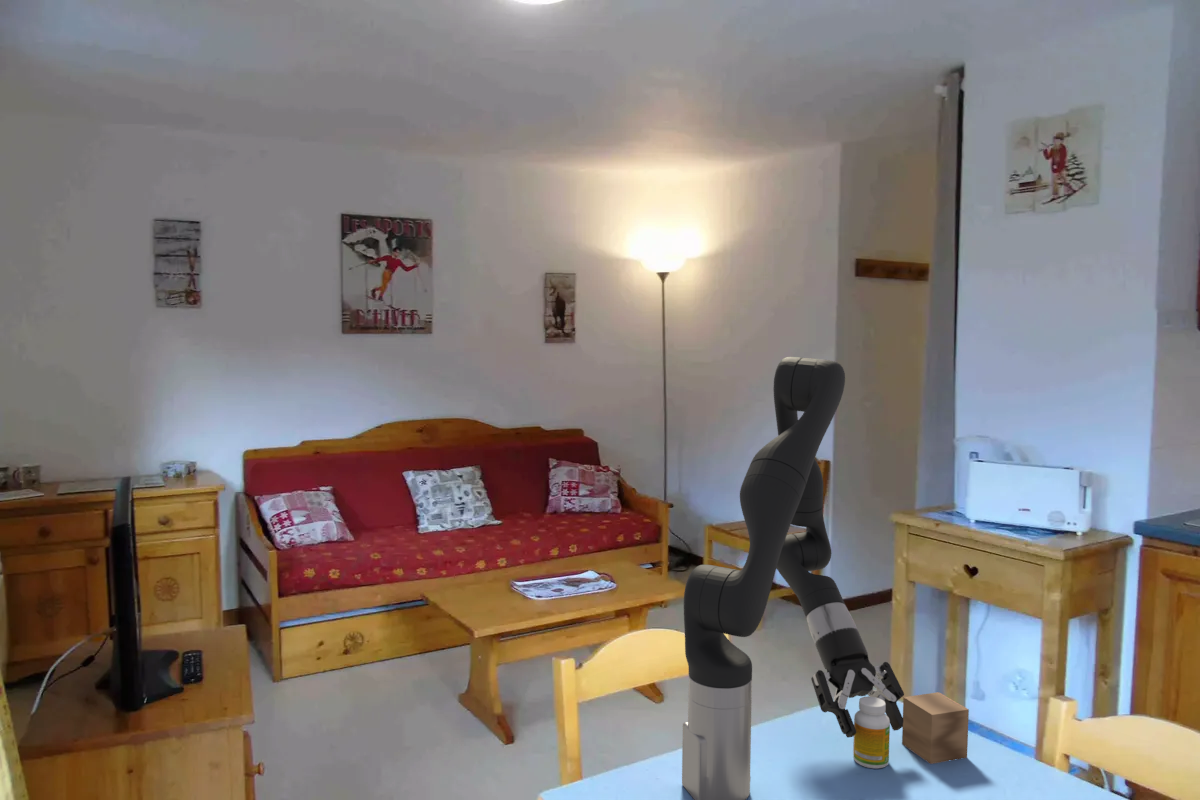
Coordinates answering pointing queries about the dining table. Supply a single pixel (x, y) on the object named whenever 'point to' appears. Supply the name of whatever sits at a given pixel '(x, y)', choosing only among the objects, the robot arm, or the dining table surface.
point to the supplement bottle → (871, 733)
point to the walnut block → (935, 727)
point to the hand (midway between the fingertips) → (875, 732)
